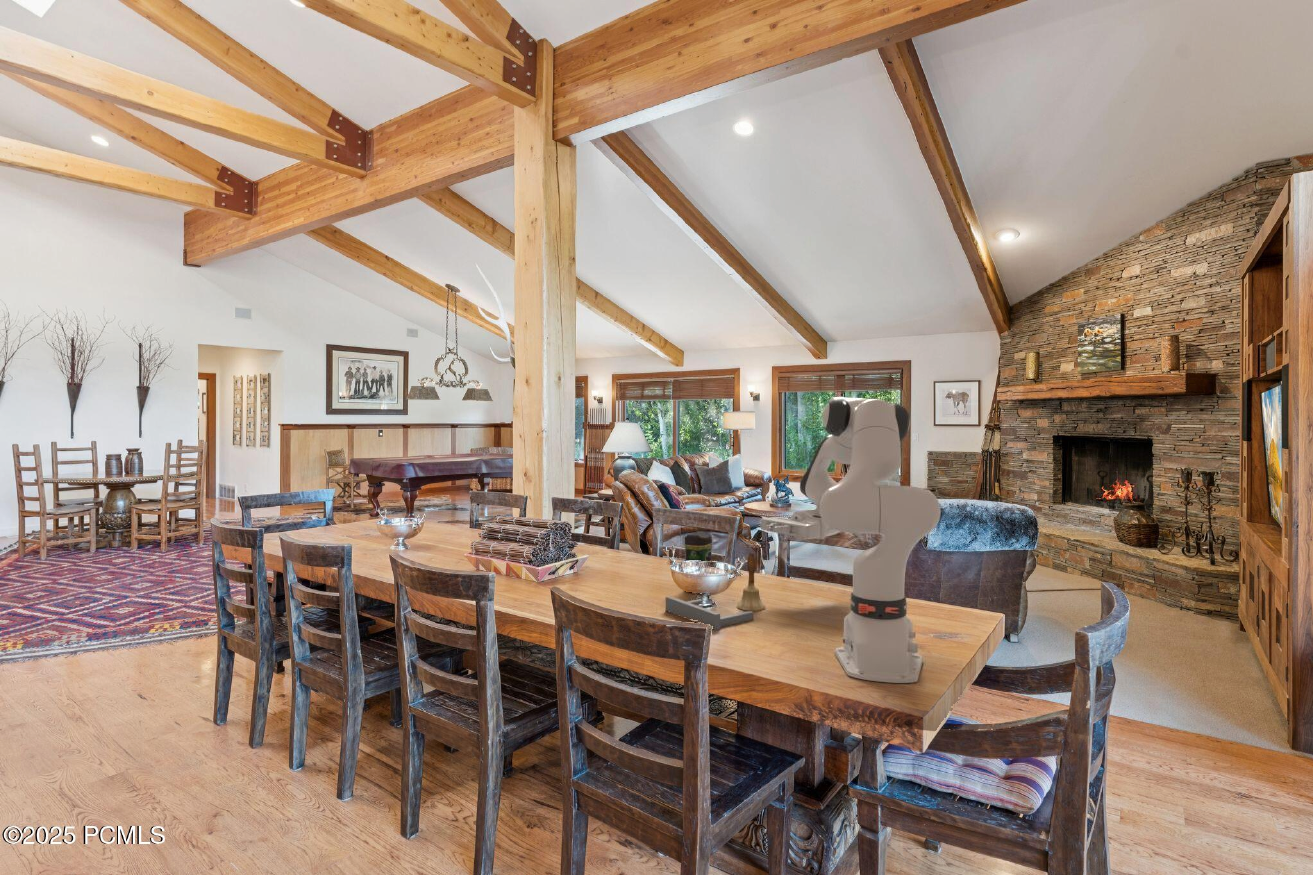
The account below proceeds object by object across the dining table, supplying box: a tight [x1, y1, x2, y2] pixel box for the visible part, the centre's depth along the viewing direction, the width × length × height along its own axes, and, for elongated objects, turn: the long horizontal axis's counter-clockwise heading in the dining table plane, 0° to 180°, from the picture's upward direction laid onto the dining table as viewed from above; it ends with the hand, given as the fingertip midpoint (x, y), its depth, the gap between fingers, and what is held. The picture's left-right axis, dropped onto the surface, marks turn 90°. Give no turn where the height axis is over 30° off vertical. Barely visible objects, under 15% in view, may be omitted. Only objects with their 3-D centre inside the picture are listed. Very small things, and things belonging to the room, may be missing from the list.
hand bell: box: [736, 551, 766, 612], centre depth 192 cm, size 8×8×16 cm
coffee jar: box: [684, 530, 713, 563], centre depth 214 cm, size 10×8×19 cm
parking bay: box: [665, 595, 755, 631], centre depth 184 cm, size 15×22×4 cm, turn 35°
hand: (771, 529), depth 197 cm, fingers closed
